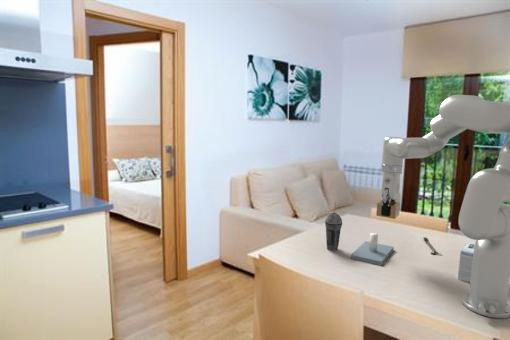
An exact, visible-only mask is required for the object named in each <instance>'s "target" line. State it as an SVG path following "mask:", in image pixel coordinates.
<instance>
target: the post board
mask: <svg viewBox="0 0 510 340" xmlns="http://www.w3.org/2000/svg"><path fill="white" fill-rule="evenodd" d="M378 239H379V234H378V233H376V232H370V234H369V241H366V240H365V241H364V242H363V243H362V244H361V245H360V246H359V247H357V248H356V249H355V251H353V252H352V253H351V254H350V259H352V260H355V261H361V262H365V263H369V264H373V265H378V266H383V264H384V263H385V262H386V261H387V259H388V258H389V257H390V255H391V254H392V252H393V251H394V246H391V245H386V244H383V243H382V244H381V243H378V241H379V240H378Z"/></svg>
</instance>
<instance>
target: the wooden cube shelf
mask: <svg viewBox="0 0 510 340" xmlns="http://www.w3.org/2000/svg"><path fill="white" fill-rule="evenodd" d="M382 200H383V199H381V200H380V201H378V202H377V203H376V215H375V216H376V217H381V218H387V219H394V220H396V218H398V216H400V208H401V207H400V205H401V202H398V201H395V202H393V201H391V202H390V206H391V209H390V216H389V217H388V216H382V215H381V208H382ZM388 202H389V201H388Z"/></svg>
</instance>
